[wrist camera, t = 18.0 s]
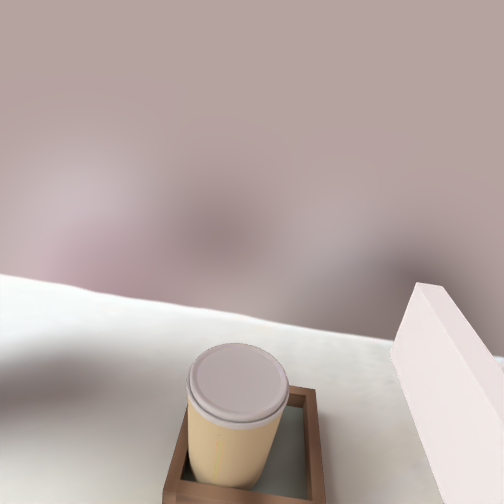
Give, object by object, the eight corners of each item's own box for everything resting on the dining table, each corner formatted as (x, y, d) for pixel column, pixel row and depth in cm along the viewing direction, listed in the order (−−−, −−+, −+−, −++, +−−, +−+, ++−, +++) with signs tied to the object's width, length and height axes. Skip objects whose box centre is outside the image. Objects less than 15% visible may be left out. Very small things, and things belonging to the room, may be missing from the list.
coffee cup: (229, 408, 45) (240, 328, 40) (288, 465, 40) (311, 381, 34) (162, 455, 39) (165, 368, 33) (222, 531, 33) (238, 441, 28)
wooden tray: (161, 525, 36) (162, 490, 34) (194, 402, 49) (197, 371, 47) (314, 550, 36) (327, 517, 33) (306, 419, 49) (315, 389, 47)
